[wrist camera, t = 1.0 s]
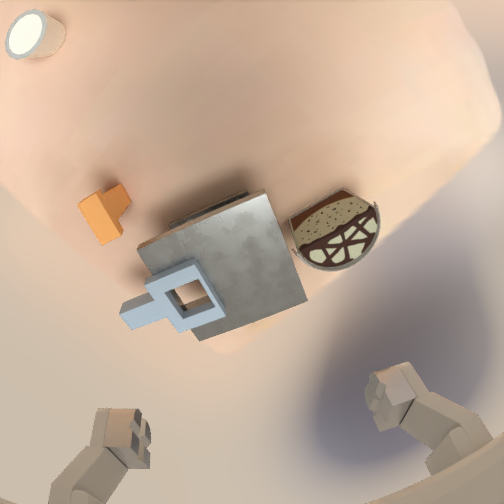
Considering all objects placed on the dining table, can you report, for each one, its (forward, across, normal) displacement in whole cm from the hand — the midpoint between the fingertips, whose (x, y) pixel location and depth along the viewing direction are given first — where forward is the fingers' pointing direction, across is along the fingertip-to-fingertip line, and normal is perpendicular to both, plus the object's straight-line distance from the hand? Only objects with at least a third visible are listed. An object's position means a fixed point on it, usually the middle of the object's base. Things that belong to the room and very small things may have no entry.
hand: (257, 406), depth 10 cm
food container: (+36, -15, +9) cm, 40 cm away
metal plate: (+36, 0, +11) cm, 37 cm away
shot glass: (+36, +22, -24) cm, 48 cm away
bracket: (+28, +9, +14) cm, 32 cm away
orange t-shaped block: (+36, +15, +2) cm, 39 cm away
